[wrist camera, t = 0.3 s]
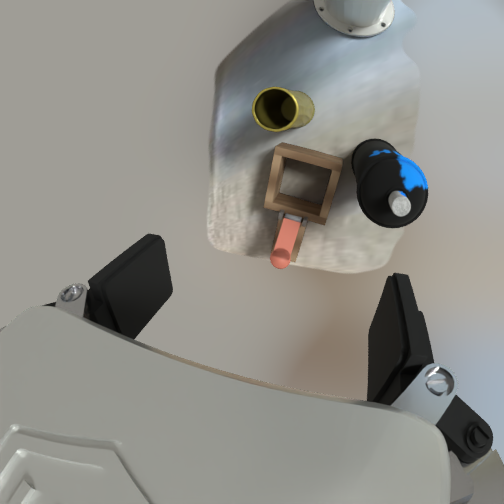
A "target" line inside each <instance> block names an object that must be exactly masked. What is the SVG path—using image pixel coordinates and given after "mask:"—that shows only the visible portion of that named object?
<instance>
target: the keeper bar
mask: <svg viewBox="0 0 504 504" xmlns="http://www.w3.org/2000/svg"><path fill="white" fill-rule="evenodd" d="M301 219H302V218H301V217H298V216H295V215H291V214H288V213H286V214H285V218H284V220H283V223H282V226H281V229H280V232H279V235H278V238H277V242H276V245H275V248H274V251H273V252H272V253H271V256H270V260H271V263H272V265H273V266H274V267H276V268H278V269H283V268H286V267H287V266H288V265H289V263H290V260H291V257H290V256H291V253H292V250H293V247H294V243H295V240H296V237H297V234H298V230H299V227H300V222H301Z"/></svg>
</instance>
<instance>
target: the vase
mask: <svg viewBox="0 0 504 504" xmlns="http://www.w3.org/2000/svg"><path fill="white" fill-rule="evenodd" d="M314 112H315V107H314V104H313V101H312V100H311V98H310V97H309V96H308V95H306V94H305V93H303V92H300V91H291V90H287V89H284V88H280V87H270V88H266V89H264V90H262V91H261V92H260V93H259V94H258V95H257V96H256V98H255V99H254V101H253V105H252V114H253V117H254V119H255V121H256V123H257V124H258V125H259V126H261V127H262V128H264V129H265V130H268V131H273V132H279V131H283V130H287V129H290V128H292V127H302V126H305V125H307V124H308V123H309V122H310V121H311V120H312V118H313V116H314Z"/></svg>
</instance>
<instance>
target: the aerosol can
mask: <svg viewBox="0 0 504 504" xmlns="http://www.w3.org/2000/svg"><path fill="white" fill-rule="evenodd" d="M351 164H352V169H353V172H354V174H355V176H356V181H357V199H358V202H359V206H360V207H361V209H362V211H363V213H364V214H365V215H366V216H367V218H369V219H370V220H371V221H372V222H374V223H376V224H377V225H379V226H382V227H386V228H400V227H403V226H406V225H408V224H410V223H412V222H413V221H414V220H416V219H417V218H418V217H419V216H420V215H421V213H422V211H423V210H424V208H425V206H426V203H427V198H428V185H427V181H426V178H425V176H424V174H423V172H422V170H421V169H420V168H419V166H417V165H416V164H415V163H414V162H413V161H411V160H410V159H408V158H406V157H403V156H402V155H401V154H400V153H399V152H397V151H396V150H395V148H394V147H393V146H392V145H391V144H390V143H388V142H386V141H384V140H381V139H369V140H366V141H364V142H362V143H361V144H359V145H358V146H357V148H356V149H355V151H354V153H353V155H352V163H351Z"/></svg>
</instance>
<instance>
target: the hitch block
mask: <svg viewBox="0 0 504 504" xmlns="http://www.w3.org/2000/svg"><path fill="white" fill-rule="evenodd" d="M286 158H291V159H295V160H299V161H303V162H306V163H310V164H314V165H317V166H321V167H324V168H327V169H331V170H332V171H331V174H330V178H329V182H328V185H327V189H326V193H325V196H324V200H323V203H322V205H319V204H316V203H313V202H309V201H306V200H303V199H299V198H296V197H292V196H289V195H285V194H281V193H279V191H280V187H281V182H282V177H283V173H284V168H285V163H286ZM342 165H343V160H342V158H339V157H335V156H332V155H329V154H325V153H322V152H318V151H314V150H311V149H307V148H303V147H299V146H295V145H291V144H287V143H283V142H282V143H280V144H279V145H277V146H275V151H274V156H273V161H272V166H271V172H270V177H269V182H268V187H267V192H266V197H265V202H264V208H268V209H271V210H275V211H278V212H279V215H278V219H279V220H278V224H277V229H276V233H275V237H274V242H273V246H272V250H271V253H272V252H273V251H274V248H275V245H276V242H277V238H278V235H279V232H280V229H281V226H282V223H283V220H284V218H285V214H286V213H288V214H291V215H295V216H298V217H301V218H302V219H301V222H300V227H299V230H298V234H297V237H296V240H295V243H294V247H293V250H292V253H291V256H290V257H291V260H290V261H292V262H295V261H296V258H297V255H298V252H299V249H300V246H301V243H302V239H303V236H304V232H305V229H306V225H307V222H308V220H309V221H312V222H315V223H318V224H322V225H325V223H326V220H327V217H328V213H329V210H330V207H331V204H332V200H333V197H334V194H335V190H336V187H337V183H338V180H339V176H340V173H341V169H342ZM270 255H271V254H270Z"/></svg>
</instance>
